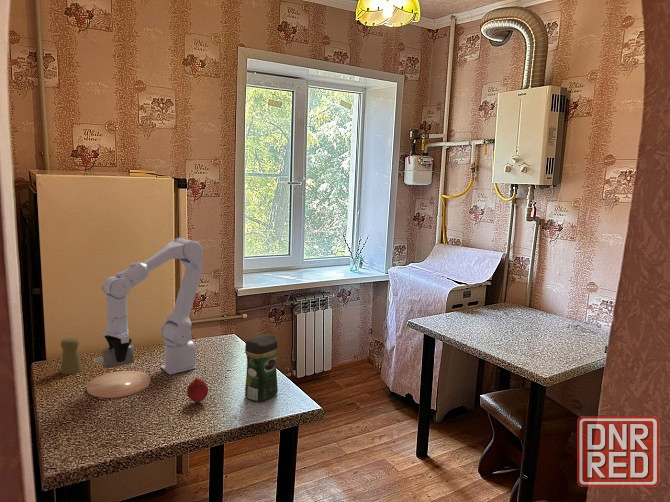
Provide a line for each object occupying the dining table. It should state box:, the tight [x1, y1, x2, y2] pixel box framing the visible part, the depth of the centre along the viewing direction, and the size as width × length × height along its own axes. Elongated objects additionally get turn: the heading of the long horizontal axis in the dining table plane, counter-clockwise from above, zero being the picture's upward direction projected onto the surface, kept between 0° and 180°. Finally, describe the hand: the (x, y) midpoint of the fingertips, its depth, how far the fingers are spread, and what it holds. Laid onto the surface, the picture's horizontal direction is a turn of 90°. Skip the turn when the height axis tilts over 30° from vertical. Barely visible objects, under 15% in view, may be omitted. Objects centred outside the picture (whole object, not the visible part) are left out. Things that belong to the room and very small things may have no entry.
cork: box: [60, 337, 82, 376], centre depth 156 cm, size 6×6×11 cm
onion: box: [186, 375, 209, 404], centre depth 138 cm, size 6×6×8 cm
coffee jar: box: [244, 333, 279, 403], centre depth 143 cm, size 10×8×19 cm
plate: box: [86, 370, 151, 399], centre depth 148 cm, size 18×18×1 cm
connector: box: [93, 343, 135, 369], centre depth 146 cm, size 11×4×5 cm, turn 131°
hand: (118, 359), depth 147 cm, fingers closed on connector, 4 cm apart
